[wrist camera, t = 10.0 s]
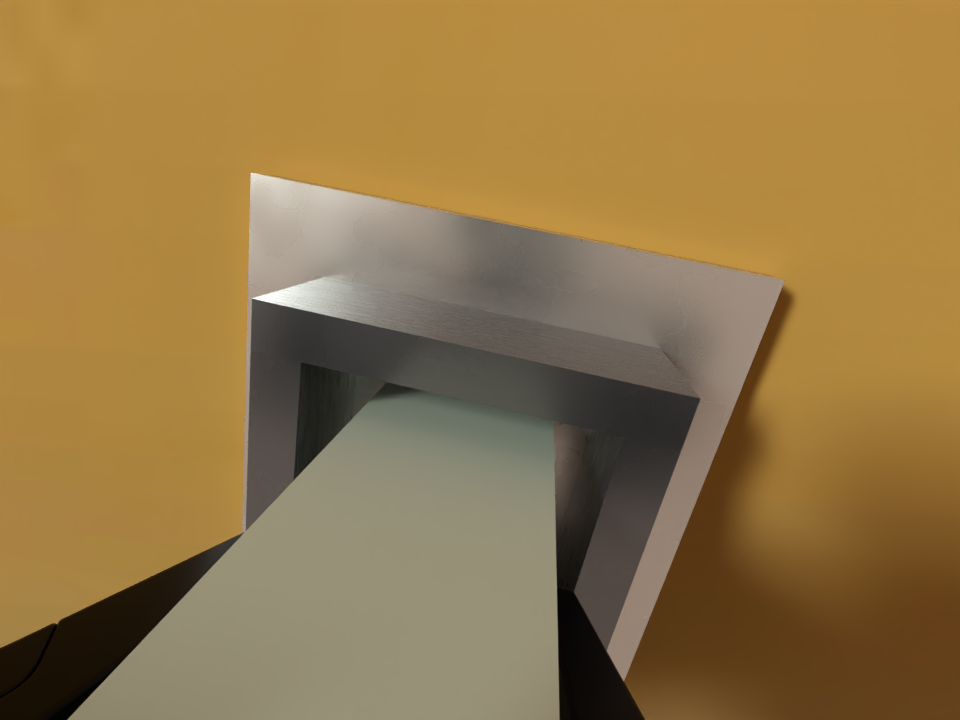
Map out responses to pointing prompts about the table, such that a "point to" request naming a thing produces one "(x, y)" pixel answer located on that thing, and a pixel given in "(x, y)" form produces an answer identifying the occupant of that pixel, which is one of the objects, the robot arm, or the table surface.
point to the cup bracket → (503, 363)
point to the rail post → (375, 584)
